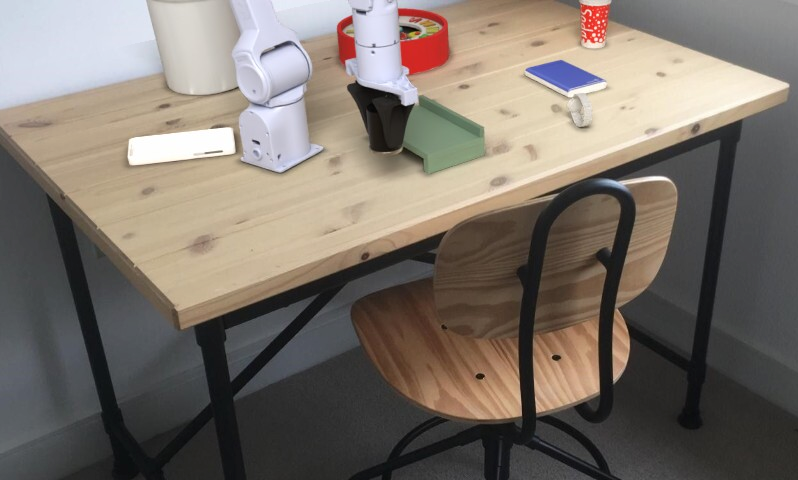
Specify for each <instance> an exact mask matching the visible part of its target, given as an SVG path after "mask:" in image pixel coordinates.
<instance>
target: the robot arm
mask: <svg viewBox="0 0 798 480" xmlns="http://www.w3.org/2000/svg"><path fill="white" fill-rule="evenodd" d="M228 1H229V4H230V6H231V9H232V12H233V14H234V17H235V19H236V22H237V25H238V27H239V30H240V33H241V35H240V37H239V39H238V41H237V43H236V45H235V47H234V49H233V51H232V54H231V55H232V58H233V61H234V64H235V69H236V80H237V84H238V88H239V91H240V92H241V93H242V94H243V96H244V97H245V98H246V99H247V100H248V102H249V103H250V104H249V105H248V107H247V108H245V109H244V110H242V111H241V113H240V114H239V117H238V129H239V135H240V140H241V146H242V152H243V156H241V157H240V162H243V163H247V164H249V165H253V166H256V167H260V168H262V169H266V170H268V171H272V172H276V173H279V174H280V173H281V174H282V173H284V172H285V171H287V170H289V169H291V168H293V167H294V166H296V165H298V164H300V163H302V162H304V161H307V159H309V158H311V157H313V156H315V155H316V154H319V153H320V152H323V151H324V146H322V145H319V144H316V143H313V142H311V141H310V133H309V125H308V117H307V108H306V101H305V93H306V92H307V91H308V89H307V88H308V87H307V84H308V83H309V82H310V81H311V79H312V77H313V74H314V73H313V72H314V71H313V68H314V67H313V63H312V60H311V58H310V55H309V53H308V52H307V50H305V48H304V47H303V45H302V44H301V42H300V39H299V36H298V34H297V32H296V31H295V30H293V29H291V28H289V27H287V26H286V25H284V24H283V23H280V21H279V19H278V15H277V13H276V10H275V7H274V5H273V1H272V0H228ZM347 3H348V4H349V7H350V8H351V15H352V16H353V27H354V38H355V49H356V58H353V59H349V60H345V63H346V67H345V73H346V75H347V76H349V77H354V78H355V81H354V82H351V83H349V84H347V85H346V90H347V91H348V93H349V94H350V96H351V97H352V99H353V101H354V102H355V105H356V106H357V109H358V111H359V113H360V116H361V119H362V122H363V126H364V128H365V130H366V133H367V134H368V124H367V113H366V107H367V106H368V105H369V104H371V103H373V104H374V105H375V107H376V109H377V111H378V113H379V116H380V118H381V122H382V125H383V131H384V137H385V141H386V144H387V146H388V147H389V148H392V147H396V146H399V145H402V144H403V140H404V135H405V130H406V125H407V121H408V118H409V115H410V113H411V110H412V108H413V106H416V104H419V99H418V96H419V93H418V92H419V91H418V87H416V86H415V85H413V84H412V82H411V81H410V80H409V78H408V77H407V76H409V75H408V74H409V69H408V68H407V67H405V66H402V63H401V48H400V33H399V18H398V8H399V5H398V4H399V3H398V0H347ZM268 49H269V50H268ZM266 50H267V51H266Z"/></svg>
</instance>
